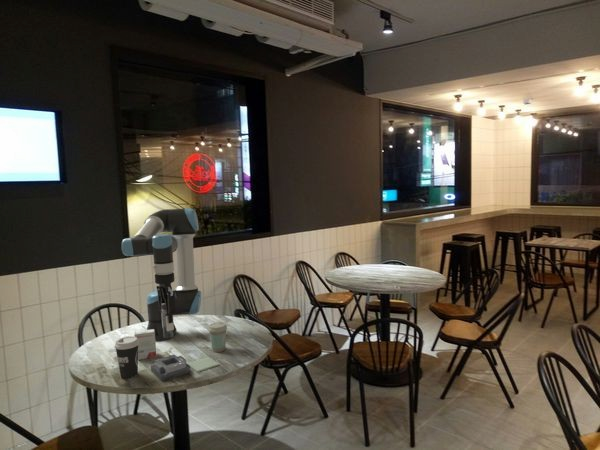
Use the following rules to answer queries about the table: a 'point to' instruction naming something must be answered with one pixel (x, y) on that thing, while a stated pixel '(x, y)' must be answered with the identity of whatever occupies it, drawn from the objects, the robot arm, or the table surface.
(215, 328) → the coffee cup
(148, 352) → the ink box
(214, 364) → the mat
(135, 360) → the coffee cup
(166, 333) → the dark glossy cylinder
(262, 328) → the table surface
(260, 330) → the table surface
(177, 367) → the block
